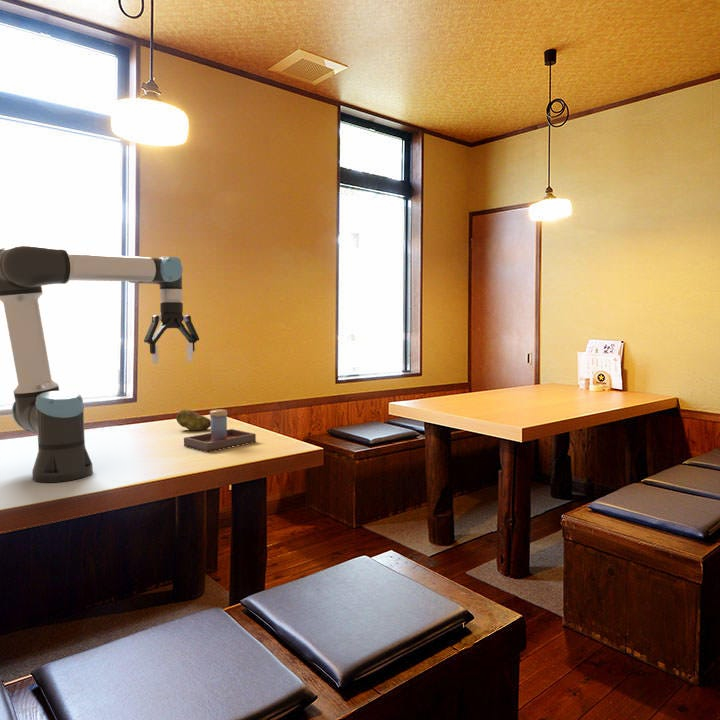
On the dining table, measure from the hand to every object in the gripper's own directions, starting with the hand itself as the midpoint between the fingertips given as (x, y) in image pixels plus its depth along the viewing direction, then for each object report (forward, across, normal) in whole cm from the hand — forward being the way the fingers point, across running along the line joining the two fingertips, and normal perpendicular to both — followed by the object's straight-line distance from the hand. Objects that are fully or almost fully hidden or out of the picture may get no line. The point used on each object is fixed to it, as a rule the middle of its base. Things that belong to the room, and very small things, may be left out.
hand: (173, 362), depth 201 cm
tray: (+29, -8, +16) cm, 34 cm away
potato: (+29, -16, -14) cm, 36 cm away
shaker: (+28, -8, +16) cm, 33 cm away
